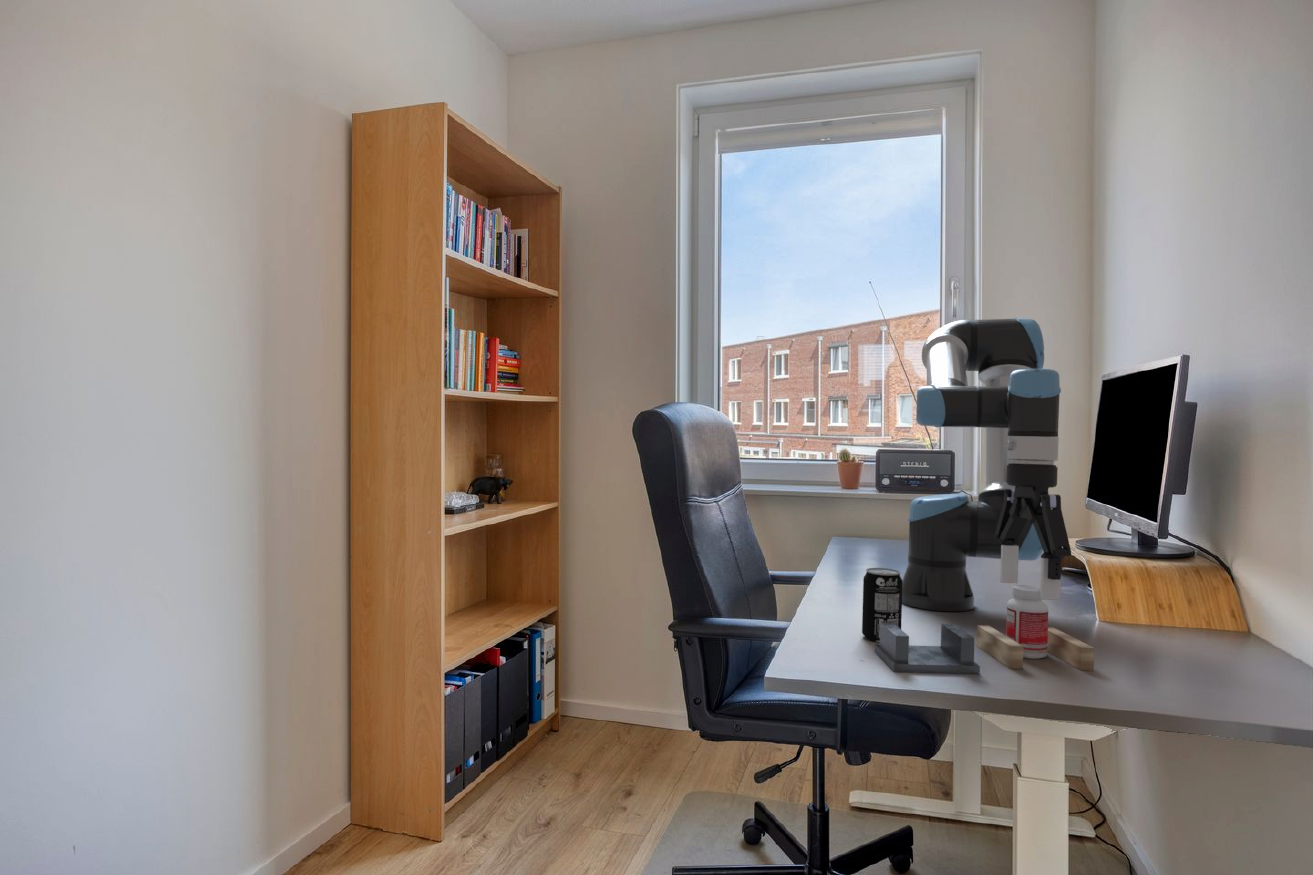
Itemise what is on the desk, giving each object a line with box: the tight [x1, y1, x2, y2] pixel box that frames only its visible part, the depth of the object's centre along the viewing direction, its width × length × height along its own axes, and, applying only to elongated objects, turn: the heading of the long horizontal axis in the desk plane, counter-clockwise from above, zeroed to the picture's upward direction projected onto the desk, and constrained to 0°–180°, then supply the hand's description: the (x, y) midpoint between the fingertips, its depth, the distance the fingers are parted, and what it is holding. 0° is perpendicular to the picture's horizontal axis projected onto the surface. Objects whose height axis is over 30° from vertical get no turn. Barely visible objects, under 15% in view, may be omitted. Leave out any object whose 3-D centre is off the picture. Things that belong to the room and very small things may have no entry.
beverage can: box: [861, 567, 903, 644], centre depth 130 cm, size 7×7×12 cm
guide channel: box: [976, 625, 1095, 671], centre depth 121 cm, size 12×13×4 cm
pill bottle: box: [1005, 584, 1049, 660], centre depth 123 cm, size 6×6×11 cm
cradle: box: [874, 622, 981, 675], centre depth 117 cm, size 10×13×5 cm
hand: (1028, 590), depth 122 cm, fingers open, 13 cm apart
